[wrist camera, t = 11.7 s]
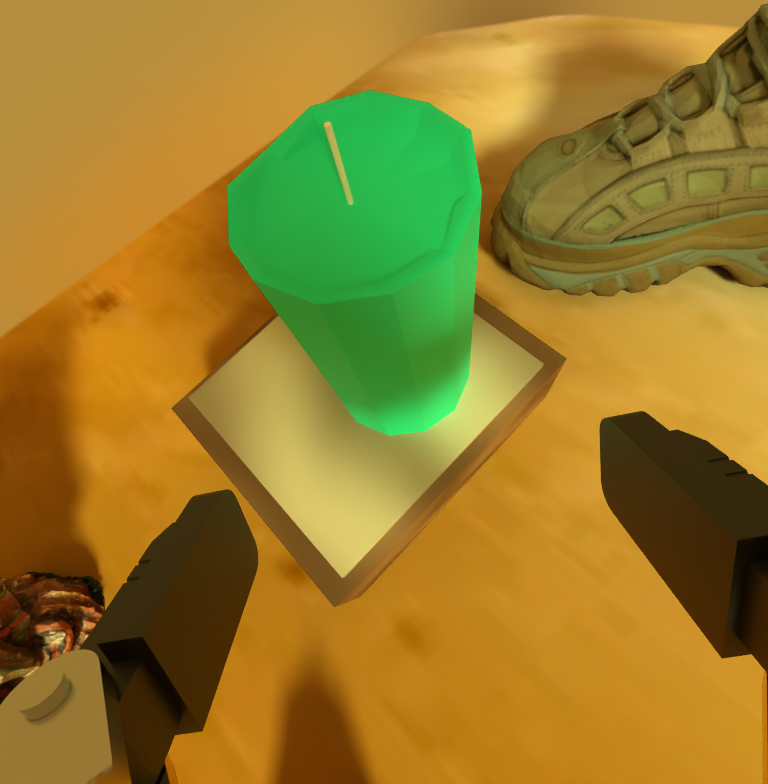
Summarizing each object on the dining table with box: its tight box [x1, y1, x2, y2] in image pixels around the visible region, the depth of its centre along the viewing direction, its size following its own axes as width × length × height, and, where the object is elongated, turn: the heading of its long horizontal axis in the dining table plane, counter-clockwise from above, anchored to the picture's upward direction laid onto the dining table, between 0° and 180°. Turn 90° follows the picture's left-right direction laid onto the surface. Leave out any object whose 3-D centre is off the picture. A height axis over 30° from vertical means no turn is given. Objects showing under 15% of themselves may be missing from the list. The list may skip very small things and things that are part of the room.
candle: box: [227, 90, 482, 436], centre depth 14 cm, size 6×6×12 cm
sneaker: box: [490, 4, 768, 296], centre depth 19 cm, size 11×19×15 cm, turn 69°
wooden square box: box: [172, 294, 566, 607], centre depth 22 cm, size 14×12×5 cm
